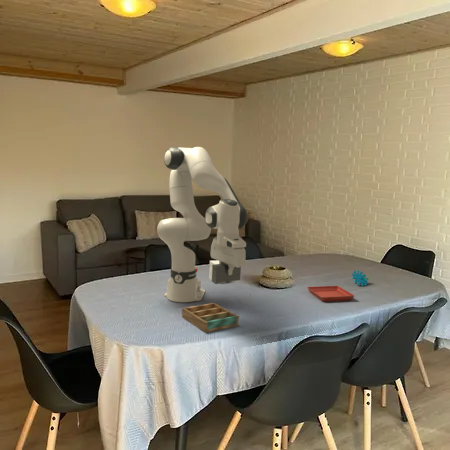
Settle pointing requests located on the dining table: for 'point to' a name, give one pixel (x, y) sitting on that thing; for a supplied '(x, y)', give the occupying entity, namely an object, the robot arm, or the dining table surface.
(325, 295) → the plant saucer
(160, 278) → the dining table surface
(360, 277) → the gear
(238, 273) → the panel
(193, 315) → the rack
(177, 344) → the dining table surface
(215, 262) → the skincare box
